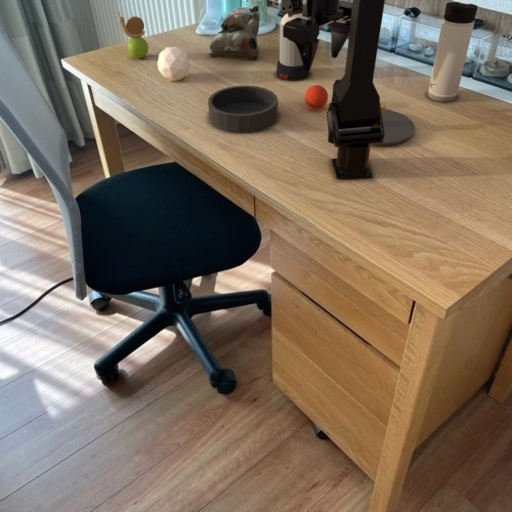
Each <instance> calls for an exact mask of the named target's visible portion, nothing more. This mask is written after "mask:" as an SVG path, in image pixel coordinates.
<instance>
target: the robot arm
mask: <svg viewBox="0 0 512 512" xmlns="http://www.w3.org/2000/svg"><path fill="white" fill-rule="evenodd" d="M385 3H386V0H352V1H351V2H350V1H346V0H281V11H282V13H283V14H285V15H286V14H287V13H288V17H292V16H293V15H296V14H301V13H302V16H303V17H306V18H309V19H308V20H306V19H302V18H295V19H293V20H290V21H288V22H286V23H285V24H284V25H283V37H285V38H288V40H290V41H293V42H294V43H295V44H296V46H297V48H298V50H299V53H300V56H301V59H302V63H303V66H304V69H305V71H310V72H311V70H312V66H313V64H314V60H315V57H316V54H317V50H318V47H319V43H320V39H319V38H318V37H319V35H320V32H321V31H320V30H321V28H323V27H325V26H327V25H328V27H329V28H330V53H331V58H333V59H337V58H338V56H339V54H340V53H341V52H342V50H343V47H344V45H345V44H346V42H347V50H346V58H345V59H346V60H345V68H344V74H343V76H342V78H341V79H335V80H334V83H333V84H332V96H331V100H330V101H331V102H329V103H328V108H327V111H326V121H327V142H328V144H332V145H333V146H334V147H335V148H337V151H336V157H335V158H331V165H332V168H333V171H334V174H335V175H334V176H335V178H336V179H337V180H348V179H349V180H351V179H372V178H373V176H374V174H373V171H372V169H371V166H370V164H369V161H370V153H371V146H372V144H371V143H382V142H383V139H384V136H385V133H384V126H383V119H382V112H381V105H380V103H381V96H380V94H379V92H378V90H377V88H376V85H375V84H374V75H375V68H376V63H377V56H378V49H379V43H380V36H381V29H382V23H383V16H384V10H385ZM360 127H371V128H366V129H355V130H344V131H341V130H340V129H349V128H360Z"/></svg>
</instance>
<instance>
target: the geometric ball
mask: <svg viewBox="0 0 512 512" xmlns="http://www.w3.org/2000/svg"><path fill="white" fill-rule="evenodd" d="M156 65H157V69H158V72H159V73H160V75H162V77H164V78H165V79H167V80H169V81H173V82H176V81H181V80H183V79H184V78H185V77H186V76H187V75H188V74H189V71H190V67H191V61H190V58H189V56H188V54H187V53H186V52H185V51H184V50H183V49H182V48H180V47H177V46H167V47H165V48H164V49H163V50H162V51H161V52H159V55H158V58H157V64H156Z"/></svg>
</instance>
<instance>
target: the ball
mask: <svg viewBox="0 0 512 512" xmlns="http://www.w3.org/2000/svg"><path fill="white" fill-rule="evenodd" d="M328 99H329V93H328V91H327V89H326V88H325V87H324V86H322V85H319V84H313V85H311V86H309V87H308V89H307V90H306V91H305V93H304V101H305V103H306V105H307V106H308V107H309V108H310V109H314V110H319V109H322V108H324V106H325V105H326V104H327V102H328Z"/></svg>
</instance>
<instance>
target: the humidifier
mask: <svg viewBox="0 0 512 512" xmlns="http://www.w3.org/2000/svg"><path fill="white" fill-rule="evenodd" d="M295 18H302V19H306V20H309V19H308V17H303V16H302V13H301V14H296V15H293V16H292V17H288V13H287V14H285V15H283V17H282V18H281V20H280V24H279V59H278V60H277V62H276V76H277V77H278V78H279V79H281V80H283V81H289V82H296V81H297V82H298V81H303V80H306V79H308V78H309V77H310V73H311V70H310V71H305V69H304V66H303V63H302V59H301V56H300V53H299V50H298V48H297V46H296V44H295V43H294V42H293V41H290V40H288V38H285V37H283V25H284V24H285V23H286V22H288V21H290V20H293V19H295Z"/></svg>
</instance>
